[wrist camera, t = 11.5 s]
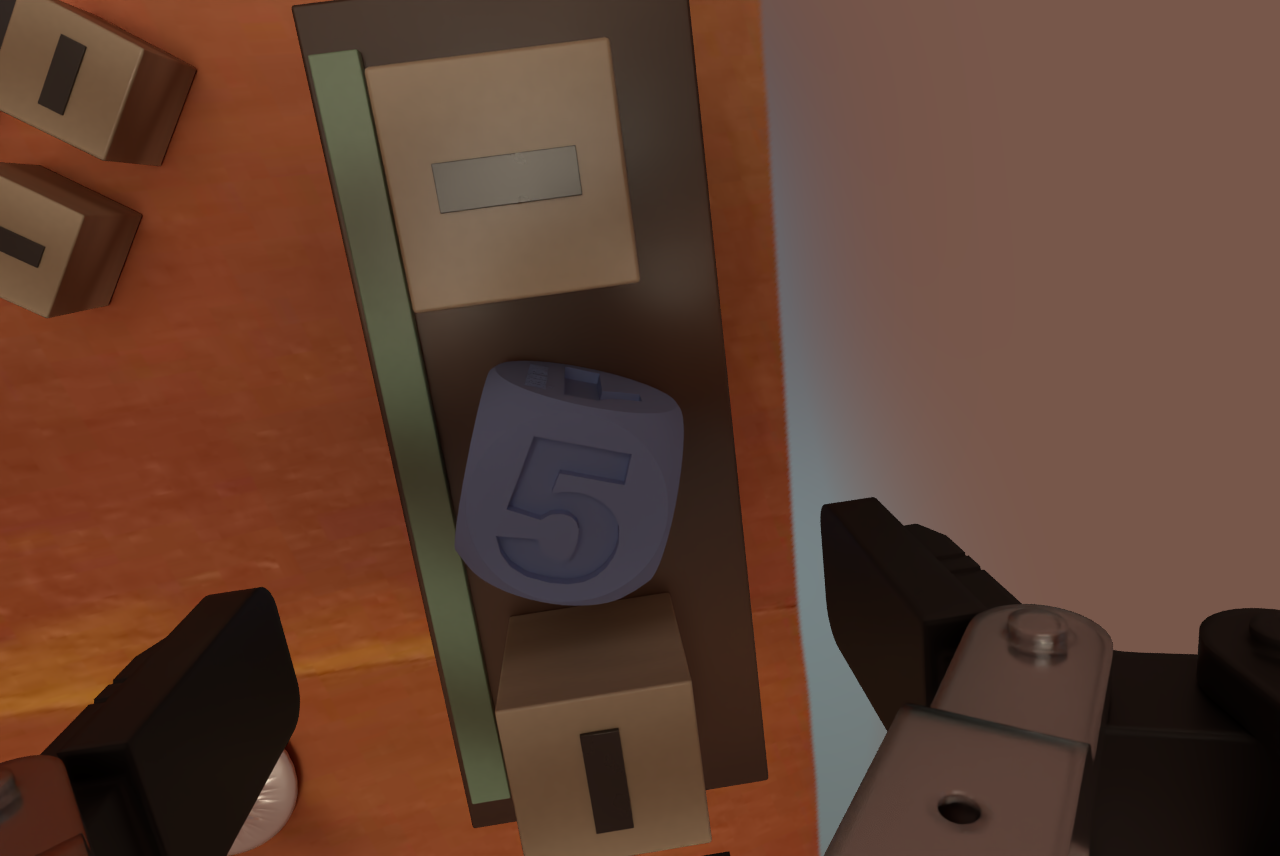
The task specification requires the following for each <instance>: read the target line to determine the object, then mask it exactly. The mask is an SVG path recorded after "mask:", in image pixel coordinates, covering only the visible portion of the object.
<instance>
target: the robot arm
mask: <svg viewBox="0 0 1280 856" xmlns="http://www.w3.org/2000/svg"><path fill="white" fill-rule="evenodd" d="M821 536H822V549H823V563H824V577H825V591H826V602H827V611H828V617H829V622H830V626H831V630H832V633H833V636H834V639H835V641H836V644H837V646H838V647H839V650H840V651H841V653H842V654H843V656H844V658H845V660H846V661H847V663H848V664H849V667H850V668H851V670H852V671H853V673H854V675H855V677H856V678H857V680H858V682H859V684H860V685H861V687H862V689H863V691H864V692H865V694H866V696H867V697H868V699H869V701H870V702H871V704H872V706H873V707H874V709H875V711H876V713H877V714H878V716H879V718H880V720H881V721H882V723H883V725H884V726H885V728H886V730H887V734H886V736H885V738H884V740H883V742H882V744H881V745H880V747H879V750H878V751H877V754H876V755H875V757H874V759H873V761H872V763H871V765H870V767H869V769H868V771H867V773H866V775H865V777H864V779H863V780H862V782H861V784H860V786H859V788H858V790H857V792H856V794H855V796H854V798H853V800H852V802H851V804H850V806H849V808H848V810H847V812H846V814H845V815H844V817H843V819H842V821H841V823H840V825H839V827H838V829H837V831H836V833H835V835H834V837H833V839H832V841H831V843H830V845H829V847H828V849H827V850H826V852H825V855H824V856H1280V610H1275V609H1262V608H1243V609H1233V610H1227V611H1222V612H1219V613H1216V614H1213V615H1211V616H1209V617H1207V618H1206V619H1205V620H1204V621H1203V622H1202V624H1201V626H1200V629H1199V644H1198V655H1194V654H1165V653H1137V652H1122V651H1115V650H1113V642H1112V640H1111V637H1110V636H1109V635H1108V633H1107V632H1106V631H1105V630H1104V629H1103V628H1102V627H1101V626H1100V625H1098V624H1097V623H1095V622H1094V621H1092V620H1090V619H1088V618H1086V617H1084V616H1082V615H1080V614H1077V613H1074V612H1072V611H1068V610H1065V609H1061V608H1056V607H1051V606H1045V605H1035V604H1022V603H1020V602H1019V601H1018V600H1017V599H1016V598H1015V597H1014V596H1013V595H1012V594H1010V593H1009V592H1008V591H1007V590H1006V589H1005V588H1004V587H1003V586H1002V585H1000V584H999V583H998V582H997V581H996V580H995V579H994V578H993V577H991V576H990V575H989V574H988V573H987V572H986V571H985V570H981V569H980V566H979V565H978V564H977V563H976V562H975V561H974V560H973V559H972V558H971V557H969V556H966V555H965V552H964V551H963V550H962V549H961V548H960V547H958V546H957V545H956V544H955V543H954V542H953V541H952V540H951V539H950V538H948V537H947V536H946V535H943V534H941V533H938V532H936V531H934V530H931V529H929V528H926V527H924V526H921V525H919V524H911V525H905V526H903V525H902V524H901V523H900V522H899V521H898V520H897V519H896V518H895V517H894V516H893V515H892V514H891V513H890V512H889V511H888V510H887V509H886V508H885V507H884V506H883V505H882V504H881V503H880V502H879V501H878V500H877V499H876V498H874V497H871V498H864V499H858V500H851V501H845V502H837V503H831V504H825V505H823V506H822V509H821ZM299 708H300V695H299V687H298V682H297V678H296V675H295V671H294V668H293V664H292V660H291V657H290V653H289V650H288V646H287V642H286V639H285V635H284V632H283V628H282V624H281V621H280V617H279V614H278V610H277V606H276V603H275V601H274V598H273V596H272V595H271V593H270V592H269V591H268V590H267V589H266V588H263V587H259V588H252V589H245V590H239V591H232V592H225V593H218V594H212V595H208V596H206V597H205V598H203V599H202V600H201V601H200V602H199V604H198V605H197V606H196V607H195V608H194V609H193V610H192V611H191V612H190V613H189V614H188V615H187V616H186V617H185V618H184V619H183V620H182V621H181V622H180V624H179V625H178V626H177V627H176V628H175V629H174V630H173V631H172V632H171V633H170V634H169V635H168V636H167V637H166V638H164V639H163V640H161V641H160V642H158V643H156V644H155V645H153V646H152V647H150V648H149V649H147V650H146V651H144V652H142V653H141V654H139V655H138V656H136V657H135V658H134V659H133V660H132V661H131V662H130V663H129V664H128V665H127V666H126V667H125V668H124V669H123V670H122V671H121V672H120V673H119V674H118V675H117V677H116V678H115V679H114V680H113V684H110V685H108V686H107V687H106V688H105V689H104V690H103V691H102V692H101V693H100V694H99V695H98V696H97V697H96V698H95V699H94V704H90V705H88V706H87V707H86V708H85V709H84V710H83V711H82V712H81V713H80V714H79V715H78V716H77V717H76V719H75V720H74V721H73V722H72V723H71V724H70V725H69V726H68V727H67V728H66V729H65V730H64V731H63V732H62V733H61V734H60V735H59V736H58V737H57V738H56V739H55V740H54V741H53V742H52V743H51V744H50V745H49V746H48V747H47V748H46V749H45V750H44V751H43V752H42V753H41V754H40V755H33V756H26V757H21V758H16V759H13V760H9V761H5V762H2V763H0V856H227V854H228V852H229V850H230V849H231V847H232V845H233V843H234V841H235V839H236V837H237V836H238V834H239V832H240V830H241V828H242V826H243V825H244V823H245V821H246V819H247V817H248V815H249V813H250V812H251V810H252V808H253V806H254V804H255V802H256V800H257V799H258V797H259V795H260V793H261V791H262V789H263V787H264V786H265V784H266V782H267V780H268V778H269V776H270V774H271V773H272V771H273V769H274V767H275V765H276V763H277V761H278V760H279V758H280V756H281V754H282V752H283V750H284V748H285V747H286V745H287V743H288V741H289V739H290V737H291V736H292V734H293V732H294V730H295V728H296V725H297V721H298V717H299ZM704 856H730V852H723V853H717V854H710V855H704Z"/></svg>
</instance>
